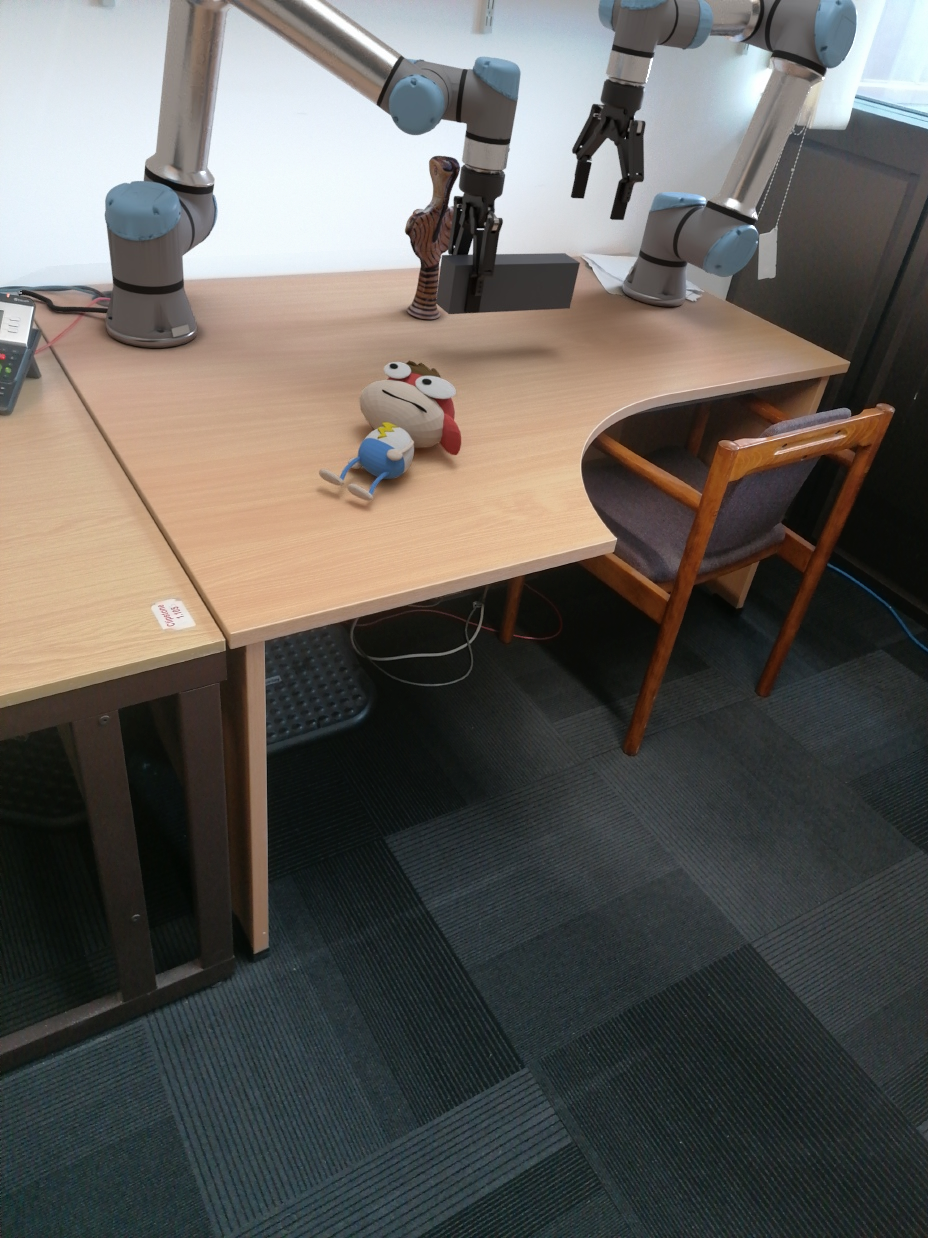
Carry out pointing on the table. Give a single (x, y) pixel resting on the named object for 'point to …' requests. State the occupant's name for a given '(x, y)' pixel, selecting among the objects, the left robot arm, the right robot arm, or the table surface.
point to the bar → (510, 283)
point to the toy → (402, 423)
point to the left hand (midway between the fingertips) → (463, 305)
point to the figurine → (432, 235)
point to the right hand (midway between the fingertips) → (596, 208)
